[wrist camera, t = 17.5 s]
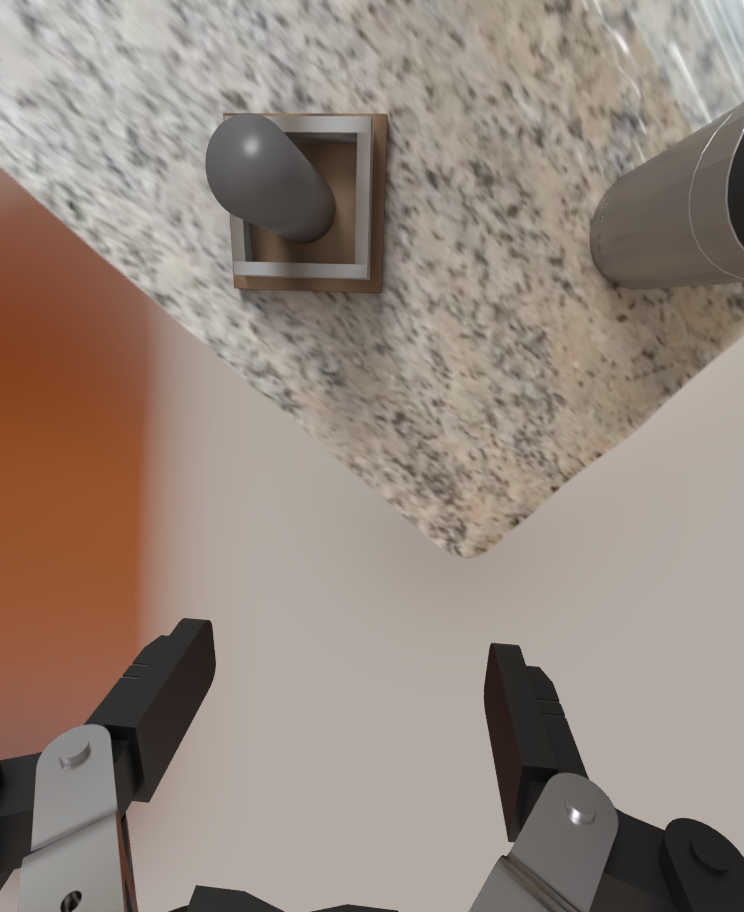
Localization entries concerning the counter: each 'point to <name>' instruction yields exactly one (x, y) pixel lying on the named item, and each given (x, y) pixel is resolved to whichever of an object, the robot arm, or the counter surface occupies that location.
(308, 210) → the tall gray cylinder
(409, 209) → the counter surface
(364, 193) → the brown and grey tray
